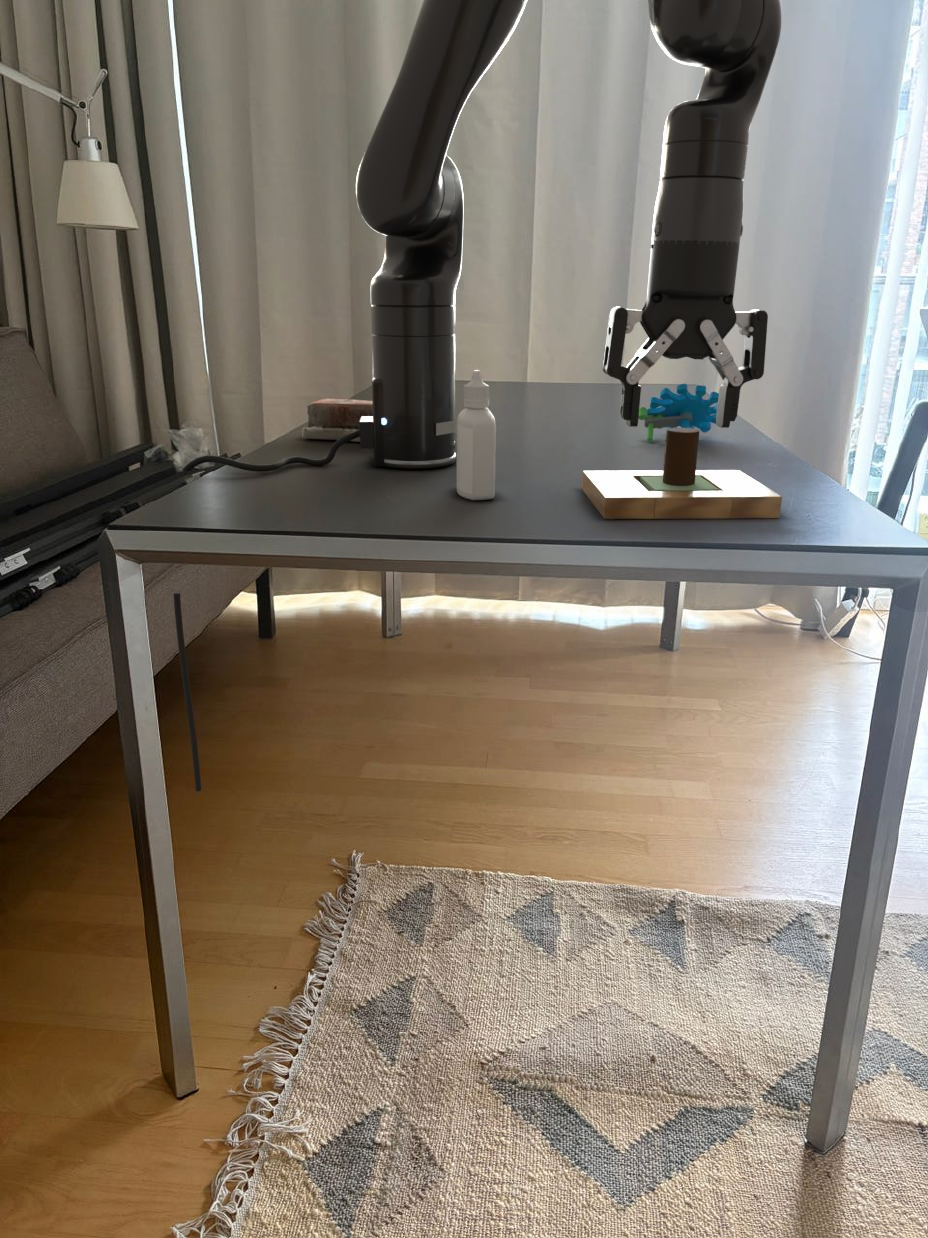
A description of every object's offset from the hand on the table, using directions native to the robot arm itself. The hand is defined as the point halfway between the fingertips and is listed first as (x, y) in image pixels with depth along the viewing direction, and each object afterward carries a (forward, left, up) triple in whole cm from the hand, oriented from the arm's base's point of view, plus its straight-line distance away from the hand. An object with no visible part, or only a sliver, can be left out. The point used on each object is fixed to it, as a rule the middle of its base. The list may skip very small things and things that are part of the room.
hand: (676, 425), depth 87 cm
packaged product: (-29, +39, -8) cm, 50 cm away
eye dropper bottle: (-18, +4, -8) cm, 20 cm away
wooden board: (+1, 0, -7) cm, 7 cm away
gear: (+11, +36, -8) cm, 38 cm away
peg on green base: (+1, 0, -7) cm, 7 cm away
